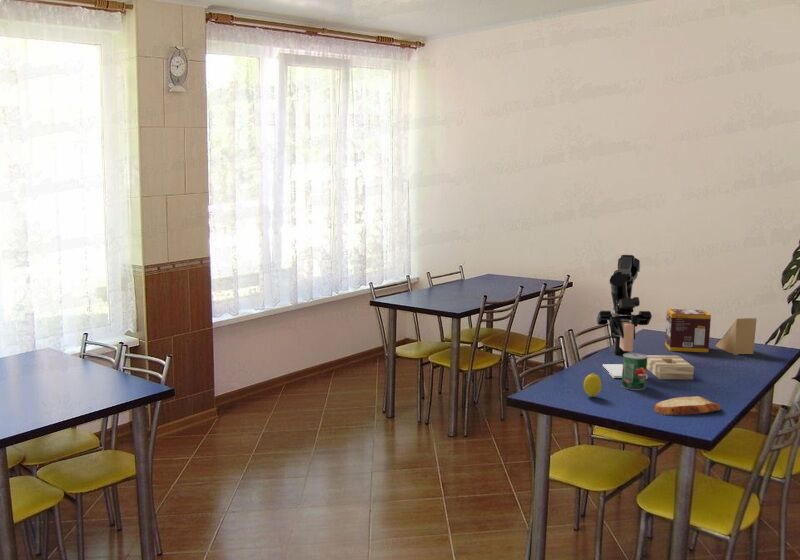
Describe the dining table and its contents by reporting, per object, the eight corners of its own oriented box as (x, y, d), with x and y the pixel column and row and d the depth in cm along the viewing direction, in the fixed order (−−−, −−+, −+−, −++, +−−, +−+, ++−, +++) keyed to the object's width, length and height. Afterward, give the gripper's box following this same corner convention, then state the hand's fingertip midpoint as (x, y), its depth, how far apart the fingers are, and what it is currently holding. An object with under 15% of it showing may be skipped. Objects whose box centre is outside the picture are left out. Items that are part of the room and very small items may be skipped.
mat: (602, 366, 292) (602, 364, 292) (634, 367, 292) (634, 364, 292) (613, 378, 276) (613, 375, 276) (647, 378, 276) (647, 376, 276)
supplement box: (664, 345, 327) (666, 308, 325) (702, 346, 325) (705, 309, 323) (669, 351, 317) (671, 313, 315) (708, 352, 315) (711, 314, 313)
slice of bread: (650, 413, 239) (651, 401, 239) (664, 398, 254) (665, 387, 254) (712, 424, 230) (713, 412, 229) (723, 408, 245) (724, 396, 245)
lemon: (581, 394, 257) (582, 370, 256) (598, 394, 257) (599, 371, 256) (585, 399, 252) (586, 375, 250) (602, 399, 251) (603, 375, 250)
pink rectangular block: (619, 347, 285) (620, 321, 284) (627, 347, 285) (629, 321, 284) (624, 351, 280) (625, 325, 278) (632, 351, 280) (634, 325, 278)
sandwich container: (733, 345, 328) (736, 310, 325) (754, 354, 313) (757, 318, 310) (714, 346, 327) (716, 311, 324) (733, 355, 312) (736, 318, 309)
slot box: (645, 367, 292) (645, 355, 291) (677, 367, 292) (678, 355, 291) (659, 379, 276) (659, 366, 275) (693, 379, 276) (693, 366, 275)
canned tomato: (644, 391, 261) (646, 359, 259) (620, 388, 264) (622, 357, 262) (646, 385, 268) (648, 353, 267) (622, 382, 271) (624, 351, 269)
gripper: (600, 288, 283) (606, 325, 274) (651, 289, 283) (659, 325, 274) (594, 306, 292) (600, 341, 283) (643, 306, 292) (651, 342, 283)
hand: (627, 337), depth 280 cm, fingers closed on pink rectangular block, 3 cm apart
